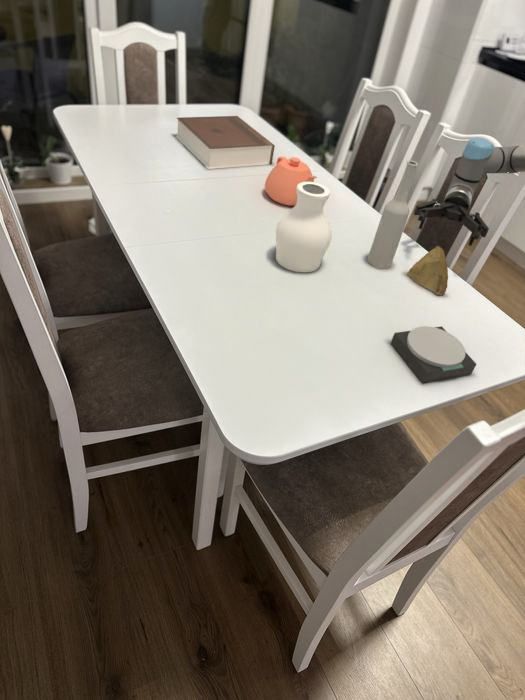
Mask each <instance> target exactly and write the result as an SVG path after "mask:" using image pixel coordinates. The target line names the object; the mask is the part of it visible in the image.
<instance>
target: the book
mask: <svg viewBox="0 0 525 700" xmlns="http://www.w3.org/2000/svg"><path fill="white" fill-rule="evenodd" d="M176 119H177V132H176V134H177V135H175V138H176V139H178V140H179V141H180V142H181V144H182V145H183V146H185V148H187V150H188V151H189V152H190V153H192V154H193V155H194V156H195V158H197V160H198V161H200V162H201V163H202V164H203V166H205V167H206V168H207V170H213V169H228V168H237V167H251V166H264V165H265V166H267V165H273V159H274V153H275V147H276V146H275V144H274V143H273V142H271V141H270V140H269V139H267V138H266V137H265V136H264V135H262V134H261V133H260V132H259V131H258V130H256V129H255V128H253V127H252V126H251V125H250V124H249V123H247V122H246V121H245V120H243V119H242V118H241V117H240V116H238V115H223V116H222V115H221V116H190V117H189V116H187V117H185V116H183V117H176Z"/></svg>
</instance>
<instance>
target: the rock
mask: <svg viewBox="0 0 525 700" xmlns="http://www.w3.org/2000/svg"><path fill="white" fill-rule="evenodd" d="M406 276H408V277H409V278H410V279H411V280H412V281H414V283H416V284H418V285H419V286H421V287H423V288H425V289H427V290H428V291H431V292H432V293H434V294H435V295H437V296H442V295H445V294H446V292H447V288H448V280H449V270H448V263H447V258H446V254H445V250H444V249H443V248H442V247H441V246H440V245H437V246H436V245H435V247H434V248H432V249H431V250H430V251H428V252H427V253H425V254H424V255H423V256H422V257H421V258H420V259H419V260H418V261H416V262H415V263H414V264H413V265H412V267H410V269H409V270H408V271H407V272H406Z"/></svg>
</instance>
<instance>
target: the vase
mask: <svg viewBox="0 0 525 700" xmlns="http://www.w3.org/2000/svg"><path fill="white" fill-rule="evenodd" d="M296 192H297V203H296V205H295V206H293V207H292V208H291V209H290V210H288V211H287V212H285V213H284V214H283V215H282V216H281V218H280V219H279V221H278V222H277V223H276V224H277V225H276V227H275V245H276V246H275V247H276V250H275V260H276V262H277V263H278V265H280V266H282V267H283V268H285V269H287V270H289V271H292V272H296V273H302V274H303V273H311V272H314V271H317V270H318V269H319V268H320V266H321V263H322V260H323V258H324V256H325V254H326V253H327V250H328V248H329V247H330V244H331V242H332V236H333V233H332V229H331V225H330V222H329V220H328V218H327V217H326V215H325V213H324V206H325V204H326V203H327V201H328V199H329V198H330V195H331V191H330V189H329V188H328V187H327V186H325V185H323V184H321V183H319V182H315V181H314V182H302V183H299V184H298V185H297V188H296Z"/></svg>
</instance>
